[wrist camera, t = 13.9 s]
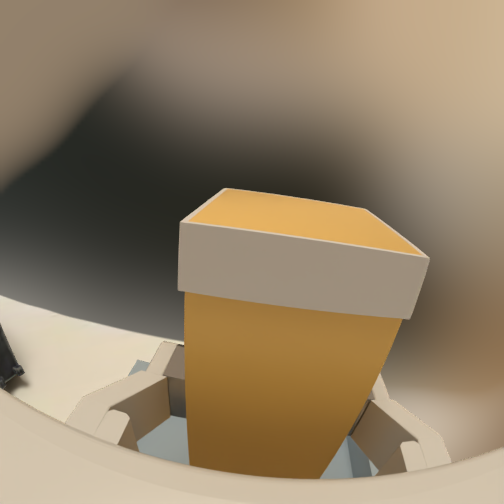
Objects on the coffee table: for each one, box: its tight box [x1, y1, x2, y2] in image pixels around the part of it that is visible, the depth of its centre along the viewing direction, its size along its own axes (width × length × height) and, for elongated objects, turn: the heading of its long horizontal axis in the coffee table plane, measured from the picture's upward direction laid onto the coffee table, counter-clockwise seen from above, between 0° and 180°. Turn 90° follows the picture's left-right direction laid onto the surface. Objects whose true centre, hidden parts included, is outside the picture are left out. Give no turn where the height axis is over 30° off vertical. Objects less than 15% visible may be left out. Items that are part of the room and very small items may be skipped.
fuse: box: [178, 188, 430, 479], centre depth 9 cm, size 4×4×13 cm
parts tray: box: [128, 360, 379, 479], centre depth 12 cm, size 16×16×4 cm
